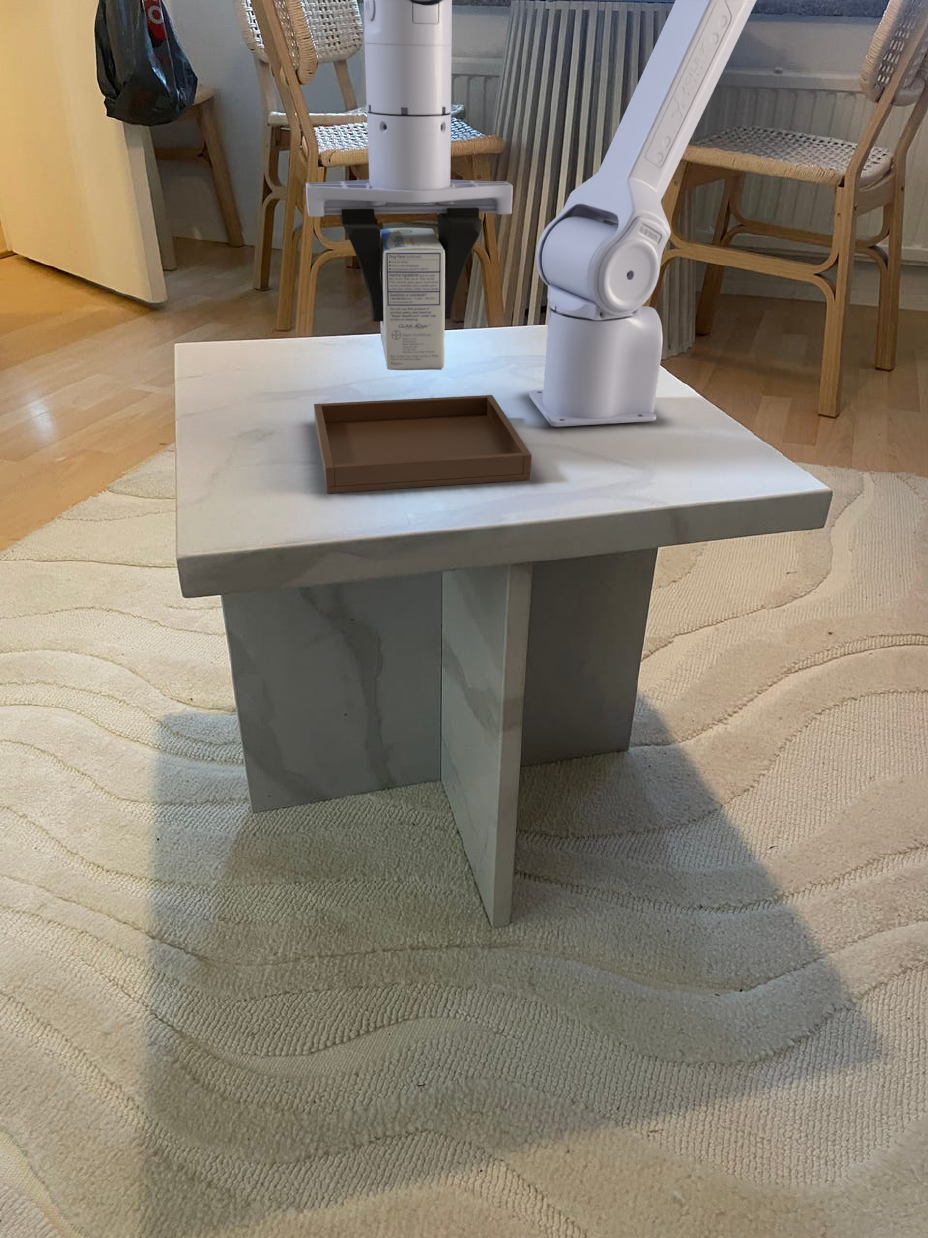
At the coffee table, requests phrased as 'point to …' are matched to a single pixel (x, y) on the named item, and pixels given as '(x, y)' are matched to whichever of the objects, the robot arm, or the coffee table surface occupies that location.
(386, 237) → the medicine box
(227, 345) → the coffee table surface
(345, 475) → the tray
